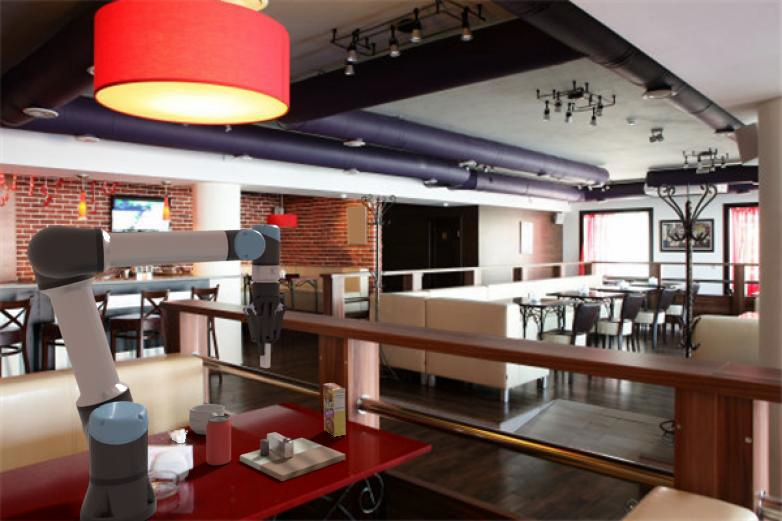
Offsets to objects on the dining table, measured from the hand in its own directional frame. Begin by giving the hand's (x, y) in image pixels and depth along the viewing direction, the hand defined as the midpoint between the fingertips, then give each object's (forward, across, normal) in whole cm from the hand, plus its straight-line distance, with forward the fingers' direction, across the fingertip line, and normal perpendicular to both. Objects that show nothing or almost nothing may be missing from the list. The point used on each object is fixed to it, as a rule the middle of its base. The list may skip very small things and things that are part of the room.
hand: (265, 366), depth 155 cm
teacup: (+26, +1, +34) cm, 43 cm away
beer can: (+26, -9, +9) cm, 29 cm away
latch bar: (+25, +5, -1) cm, 25 cm away
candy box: (+26, +29, +5) cm, 39 cm away
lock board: (+26, +6, -5) cm, 27 cm away
